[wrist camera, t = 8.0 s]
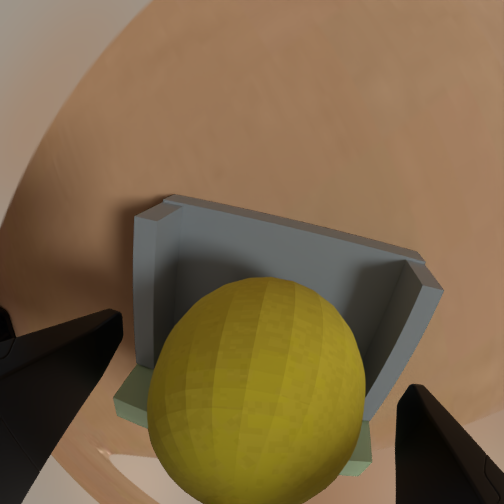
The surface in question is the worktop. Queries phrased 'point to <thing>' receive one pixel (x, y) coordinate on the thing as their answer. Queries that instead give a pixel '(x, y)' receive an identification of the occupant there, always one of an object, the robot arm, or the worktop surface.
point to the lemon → (257, 395)
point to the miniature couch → (283, 267)
